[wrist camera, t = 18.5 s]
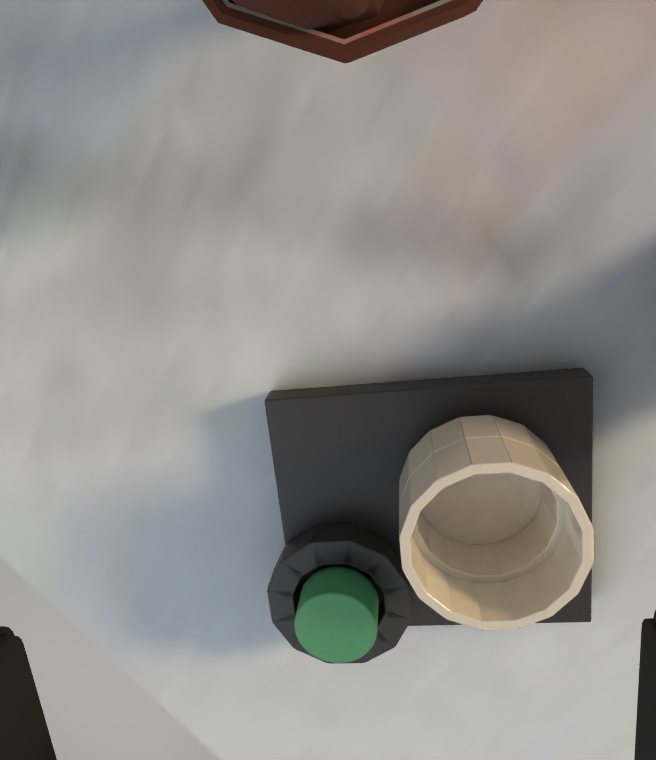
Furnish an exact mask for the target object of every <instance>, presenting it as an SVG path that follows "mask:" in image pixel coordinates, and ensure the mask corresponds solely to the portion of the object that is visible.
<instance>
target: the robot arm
mask: <svg viewBox="0 0 656 760" xmlns="http://www.w3.org/2000/svg"><path fill="white" fill-rule="evenodd" d="M0 760H57V759H56V755H55V752H54V749H53V745H52V742H51V738H50V735H49V731H48V728H47V724H46V721H45V717H44V714H43V710H42V707H41V704H40V700H39V696H38V693H37V689H36V686H35V683H34V679H33V675H32V672H31V669H30V665H29V662H28V658H27V655H26V651H25V648H24V644H23V642H22V640H21V639H20V638H19V637H17V636H15V635H14V633H13V631H12V630H11V629H10V628H9V627H4V626H3V627H0ZM635 760H656V611H655V613H654V618H650V619H644V621H643V623H642V631H641V650H640V668H639V686H638V705H637V723H636V742H635Z"/></svg>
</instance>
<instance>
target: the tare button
mask: <svg viewBox="0 0 656 760" xmlns="http://www.w3.org/2000/svg"><path fill="white" fill-rule="evenodd" d="M378 606H379V600H378V595H377V592H376V589H375V587H374V586H373V584H372V583H371V582H370V580H369V579H368V578H367V577H365V576H364V575H363V574H361V573H360V572H358V571H356V570H354V569H351V568H347V567H341V566H333V567H327V568H324V569H321V570H319V571H317V572H315V573H314V574H312V575H311V576H310V577H309V578H308V579H307V581H306V582H305V584H304V586H303V588H302V591H301V595H300V600H299V604H298V608H297V612H296V616H295V621H294V628H295V633H296V636H297V638H298V640H299V642H300V644H301V645H302V646H303V648H304V649H305V650H306V651H307V652H309V653H310V654H311V655H313V656H314V657H316V658H318V659H321V660H323V661H327V662H332V663H346V662H351V661H354V660H357V659H359V658H361V657H362V656H364V655H365V654H366V653H367V652H368V651H369V650H370V649H371V648H372V646H373V645H374V642H375V640H376V637H377V627H378Z"/></svg>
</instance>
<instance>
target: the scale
mask: <svg viewBox="0 0 656 760" xmlns="http://www.w3.org/2000/svg"><path fill="white" fill-rule="evenodd" d="M265 407H266V414H267V421H268V428H269V435H270V442H271V449H272V455H273V462H274V469H275V476H276V483H277V490H278V497H279V504H280V511H281V518H282V524H283V531H284V538H285V545H286V546H285V548H284V550H283V552H282V554H281V556H280V558H279V560H278V562H277V564H276V566H275V568H274V571H273V574H272V577H271V580H270V583H269V586H268V590H267V592H268V599H269V605H270V611H271V618H272V621H273V624H274V625H275V626H276V627H277V629H278V630H279V631H280V632H281V633H282V635H283V636H284V637H285V638H286V639H287V641H288V642H289V643H290V644H291V645H292V647H293V648H295V649H296V650H299V651H301V652H303V653H305V654H308V655H310V656H312V657H314V656H313V655H311V654H310V653H309V652H307V651H306V650H305V649H304V648H303V646H302V645H301V644H300V642H299V640H298V638H297V636H296V633H295V628H294V621H295V616H296V612H297V608H298V604H299V600H300V595H301V591H302V588H303V586H304V584H305V582H306V581H307V579H308V578H309V577H310V576H311V575H312V574H314V573H315V572H317V571H319V570H321V569H324V568H327V567H333V566H341V567H347V568H351V569H354V570H356V571H358V572H360V573H361V574H363V575H364V576H365V577H367V578H368V579H369V580H370V582H371V583H372V584H373V586H374V587H375V589H376V592H377V595H378V600H379V606H378V627H377V637H376V640H375V642H374V645H373V646H372V648H371V649H370V650H369V651H368V652H367V653H366V654H365V655H364V656H362V657H361V658H359V659H357V660H354V661H351V662H346V663H364V662H367V661H369V660H371V659H373V658H375V657H377V656H379V655H381V654H382V653H384V652H386V651H388V650H390V649H392V648H394V647H395V646H396V645H397V643H398V641H399V640H400V638H401V636H402V634H403V633H404V631H405V629H406V628H407V626H420V625H463V624H460V623H457V622H453V621H450V620H447V619H445V618H444V617H443V616H441V615H440V614H439V613H437V612H436V611H435V610H433V609H432V608H431V607H430V606H428V605H427V604H426V603H424V602H423V601H422V600H421V599H419V597H418V596H417V594H416V593H415V591H414V589H413V587H412V586H411V584H410V582H409V580H408V579H407V577H406V575H405V574H404V572H403V569H402V564H401V552H400V541H399V480H400V476H401V473H402V470H403V467H404V465H405V462H406V459H407V456H408V454H409V452H410V451H411V450H412V448H413V447H414V446H415V445H416V444H417V443H418V442H419V441H420V440H421V439H422V438H423V437H424V436H425V435H426V434H427V433H428V432H429V431H431V430H432V429H434V428H437V427H439V426H441V425H443V424H445V423H447V422H450V421H452V420H454V419H456V418H459V417H467V416H482V415H491V416H496V417H500V418H503V419H506V420H509V421H512V422H516V423H519V424H521V425H523V426H525V427H526V428H527V429H529V430H530V431H531V432H532V433H534V434H535V435H536V436H537V437H538V438H540V439H541V440H542V441H543V442H544V443H546V445H547V446H548V448H549V449H550V451H551V453H552V454H553V456H554V458H555V459H556V461H557V463H558V464H559V466H560V468H561V469H562V471H563V473H564V474H565V476H566V478H567V479H568V481H569V483H570V484H571V486H572V488H573V489H574V491H575V493H576V494H577V496H578V498H579V499H580V502H581V504H582V506H583V508H584V510H585V512H586V514H587V516H588V518H589V520H590V522H591V524H592V431H593V377H592V376H591V375H590V374H589V373H588V372H587V371H586V370H585V369H584V368H575V369H562V370H548V371H535V372H521V373H508V374H494V375H481V376H468V377H454V378H441V379H427V380H414V381H400V382H387V383H374V384H360V385H347V386H333V387H320V388H306V389H293V390H280V391H271V392H270V393H269V395H268V396H267V398H266V399H265ZM591 579H592V567H591V569H590V571H589V573H588V575H587V577H586V579H585V581H584V583H583V585H582V587H581V589H580V591H579V593H578V594H577V595H576V596H575V597H574V598H573V599H572V600H570V601H569V602H568V603H567V604H566V605H565V606H563V607H562V608H561V609H560V610H559V611H558V612H556V613H555V614H554V615H553V616H551V617H549V618H547V619H544V620H541V621H538V622H536V623H558V622H590V621H591ZM314 658H316V657H314ZM317 659H318V658H317ZM319 660H321V659H319ZM321 661H323V660H321ZM323 662H326V663H332V662H327V661H323Z"/></svg>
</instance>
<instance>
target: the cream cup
mask: <svg viewBox="0 0 656 760" xmlns="http://www.w3.org/2000/svg"><path fill="white" fill-rule="evenodd" d="M399 541H400V552H401V564H402V569H403V572H404V574H405V575H406V577H407V579H408V580H409V582H410V584H411V586H412V587H413V589H414V591H415V593H416V594H417V596H418V597H419V599H421V600H422V601H423V602H424V603H426V604H427V605H428V606H430V607H431V608H432V609H433V610H435V611H436V612H437V613H439V614H440V615H441V616H443V617H444V618H445V619H447V620H450V621H453V622H457V623H460V624H463V625H466V626H469V627H472V628H475V629H479V630H480V629H481V630H506V629H519V628H522V627H525V626H527V625H530V624H533V623H536V622H538V621H541V620H544V619H547V618H549V617H551V616H553V615H554V614H555V613H556V612H558V611H559V610H560V609H561V608H562V607H563V606H565V605H566V604H567V603H568V602H569V601H570V600H572V599H573V598H574V597H575V596H576V595H577V594H578V593H579V591H580V589H581V587H582V585H583V583H584V581H585V579H586V577H587V575H588V573H589V571H590V569H591V567H592V565H593V562H594V529H593V526H592V524H591V522H590V520H589V518H588V516H587V514H586V512H585V510H584V508H583V506H582V504H581V502H580V499H579V498H578V496H577V494H576V493H575V491H574V489H573V488H572V486H571V484H570V483H569V481H568V479H567V478H566V476H565V474H564V473H563V471H562V469H561V468H560V466H559V464H558V463H557V461H556V459H555V458H554V456H553V454H552V453H551V451H550V449H549V448H548V446H547V445H546V443H544V442H543V441H542V440H541V439H540V438H538V437H537V436H536V435H535V434H534V433H532V432H531V431H530V430H529V429H527V428H526V427H525V426H523V425H521V424H519V423H516V422H512V421H509V420H506V419H503V418H500V417H496V416H491V415H482V416H467V417H459V418H456V419H454V420H452V421H450V422H447V423H445V424H443V425H441V426H439V427H437V428H434V429H432V430H431V431H429V432H428V433H427V434H426V435H425V436H424V437H423V438H422V439H421V440H420V441H419V442H418V443H417V444H416V445H415V446H414V447H413V448H412V450H411V451H410V452H409V454H408V456H407V459H406V462H405V465H404V467H403V470H402V473H401V476H400V480H399Z"/></svg>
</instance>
